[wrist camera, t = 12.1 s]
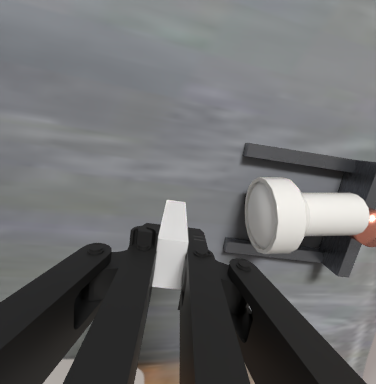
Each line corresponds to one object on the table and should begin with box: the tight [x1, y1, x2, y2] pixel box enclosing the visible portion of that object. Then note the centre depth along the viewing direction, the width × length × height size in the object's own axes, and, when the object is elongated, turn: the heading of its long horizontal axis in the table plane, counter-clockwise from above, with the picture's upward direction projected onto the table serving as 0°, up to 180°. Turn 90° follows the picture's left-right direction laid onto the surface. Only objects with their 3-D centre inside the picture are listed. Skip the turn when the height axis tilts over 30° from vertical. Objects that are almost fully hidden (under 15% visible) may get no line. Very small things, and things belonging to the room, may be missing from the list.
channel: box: [223, 143, 376, 277], centre depth 24 cm, size 16×14×6 cm
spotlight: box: [245, 177, 370, 254], centre depth 22 cm, size 8×11×8 cm
